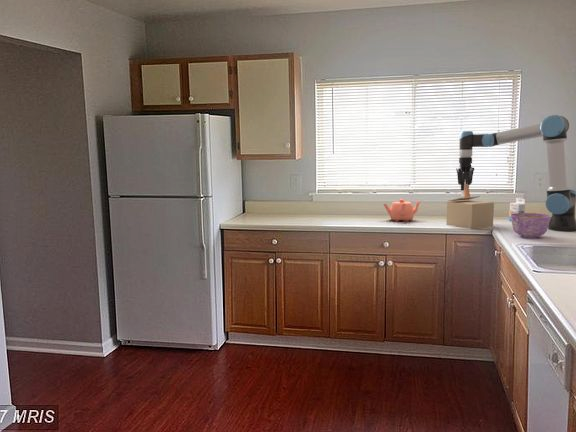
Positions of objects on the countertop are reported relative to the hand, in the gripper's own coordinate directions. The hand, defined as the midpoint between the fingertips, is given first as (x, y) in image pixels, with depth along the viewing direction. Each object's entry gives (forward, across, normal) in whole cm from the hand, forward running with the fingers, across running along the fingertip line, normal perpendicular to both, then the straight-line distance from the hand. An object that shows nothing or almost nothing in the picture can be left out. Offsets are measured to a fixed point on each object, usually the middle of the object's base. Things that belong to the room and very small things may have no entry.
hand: (464, 195), depth 331 cm
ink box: (+18, -37, +8) cm, 42 cm away
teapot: (+18, +21, -33) cm, 43 cm away
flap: (+2, 0, -1) cm, 2 cm away
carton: (+18, 0, +4) cm, 18 cm away
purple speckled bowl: (+19, +3, +49) cm, 53 cm away
